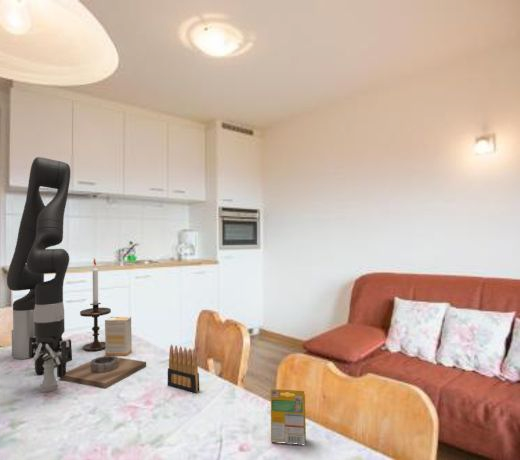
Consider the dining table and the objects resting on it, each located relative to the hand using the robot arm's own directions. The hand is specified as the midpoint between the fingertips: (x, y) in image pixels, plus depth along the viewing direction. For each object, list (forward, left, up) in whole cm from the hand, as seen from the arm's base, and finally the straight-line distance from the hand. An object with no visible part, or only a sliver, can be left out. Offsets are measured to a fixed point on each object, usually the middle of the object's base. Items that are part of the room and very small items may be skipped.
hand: (50, 374), depth 105 cm
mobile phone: (-14, +13, -5) cm, 20 cm away
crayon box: (+72, 0, -4) cm, 72 cm away
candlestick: (-16, +33, -4) cm, 37 cm away
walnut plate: (+6, +15, -4) cm, 16 cm away
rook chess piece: (0, 0, -4) cm, 4 cm away
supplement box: (-3, +31, -4) cm, 31 cm away
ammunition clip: (+36, +14, -5) cm, 38 cm away
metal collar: (+6, +15, -3) cm, 16 cm away
